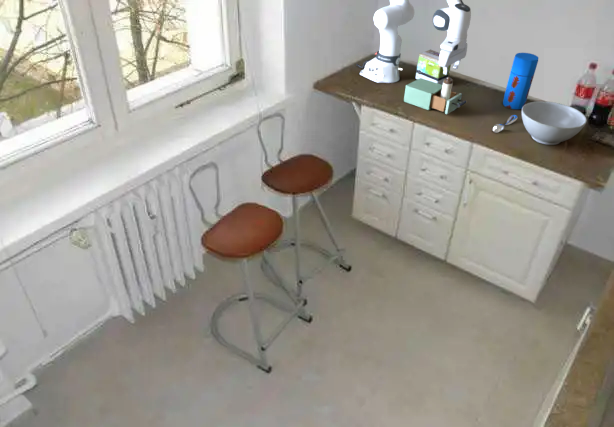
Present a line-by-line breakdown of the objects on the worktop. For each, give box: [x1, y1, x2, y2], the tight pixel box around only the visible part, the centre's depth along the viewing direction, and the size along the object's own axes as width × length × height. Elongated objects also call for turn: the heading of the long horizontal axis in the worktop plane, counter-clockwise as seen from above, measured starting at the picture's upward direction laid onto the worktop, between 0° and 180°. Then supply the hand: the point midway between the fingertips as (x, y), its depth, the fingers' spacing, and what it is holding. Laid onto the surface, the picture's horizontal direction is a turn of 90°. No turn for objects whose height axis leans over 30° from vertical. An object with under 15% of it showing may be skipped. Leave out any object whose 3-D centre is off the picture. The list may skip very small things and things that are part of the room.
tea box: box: [415, 49, 452, 85], centre depth 282 cm, size 15×10×15 cm, turn 41°
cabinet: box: [403, 78, 442, 111], centre depth 262 cm, size 15×14×9 cm
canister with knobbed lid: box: [440, 76, 454, 107], centre depth 253 cm, size 5×5×14 cm
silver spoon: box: [492, 114, 519, 134], centre depth 244 cm, size 20×4×5 cm
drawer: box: [430, 90, 467, 115], centre depth 255 cm, size 18×12×7 cm
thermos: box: [502, 52, 539, 110], centre depth 257 cm, size 11×11×25 cm
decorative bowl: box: [521, 100, 588, 146], centre depth 232 cm, size 27×27×12 cm
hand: (450, 71), depth 247 cm, fingers open, 8 cm apart
